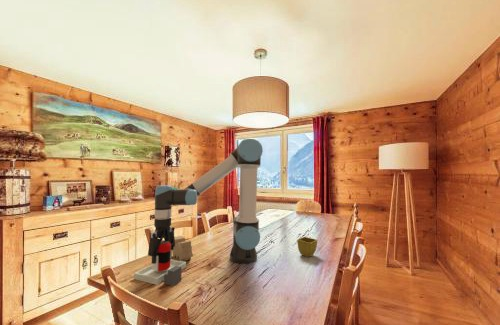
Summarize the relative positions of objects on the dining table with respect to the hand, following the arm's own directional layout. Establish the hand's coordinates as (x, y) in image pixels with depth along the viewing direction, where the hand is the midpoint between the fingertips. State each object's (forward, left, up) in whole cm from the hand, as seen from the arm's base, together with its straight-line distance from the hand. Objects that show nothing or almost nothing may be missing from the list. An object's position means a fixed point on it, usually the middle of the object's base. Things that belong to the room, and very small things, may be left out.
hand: (161, 266), depth 107 cm
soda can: (0, 0, -1) cm, 1 cm away
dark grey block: (-11, +5, -3) cm, 12 cm away
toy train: (+4, -19, -3) cm, 20 cm away
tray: (0, 0, -3) cm, 3 cm away
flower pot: (-60, -51, -3) cm, 79 cm away
